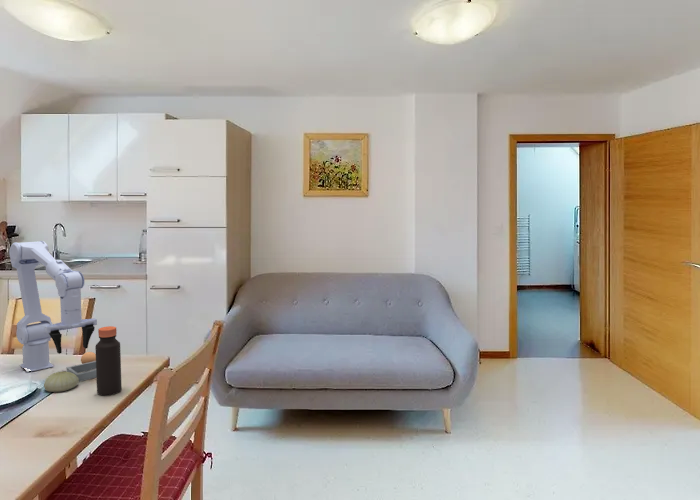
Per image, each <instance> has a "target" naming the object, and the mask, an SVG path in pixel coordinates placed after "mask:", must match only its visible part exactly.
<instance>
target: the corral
mask: <svg viewBox="0 0 700 500" xmlns="http://www.w3.org/2000/svg"><path fill="white" fill-rule="evenodd" d="M65 369H66V370H65V371H67V372H71V373H73V374H75V375H76V376H77V377H78V379H79V382H78V383H80V382H84V381H87V380H92V379H95V378H96V379H97V377H96V361H93V362H89V363H84V364H82V363H81V364H76V365H71V366H67V367H66V368H65Z"/></svg>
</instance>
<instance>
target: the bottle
mask: <svg viewBox="0 0 700 500" xmlns="http://www.w3.org/2000/svg"><path fill="white" fill-rule="evenodd" d="M97 331H98V338H99V341H98V342H97V343H96V344H95V349H94V350H95V354H96V369H95V370H96V393H97V394H98V395H99V396H104V397H105V396H111V395H115V394H118V393H120V392H121V391H122V388H123V387H122V365H121V364H122V359H121V358H122V357H121V355H122V354H121V342H120V341H119V340H117V339H116V337H117V327H116V326H112V325H111V326H109V325H108V326H102V327H100V328H98V330H97Z"/></svg>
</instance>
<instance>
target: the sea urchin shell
mask: <svg viewBox="0 0 700 500" xmlns="http://www.w3.org/2000/svg"><path fill="white" fill-rule="evenodd" d="M79 383H80V382H79V379H78V377H77V376H76V375H75V374H73V373H71V372H67V370H65V371H57V372H54V373H51V374H50V375H49V376H47V377H46V379H45V380H44V383H43V387H44V390H45V391H47V392H49V393H50V392H52V393H59V392H60V393H61V392H66V391H69V390H71V389H74V388H75V387H76V386H77V385H78V384H79Z"/></svg>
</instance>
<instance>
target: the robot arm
mask: <svg viewBox="0 0 700 500" xmlns="http://www.w3.org/2000/svg"><path fill="white" fill-rule="evenodd" d="M8 253H9V259H10V263H11V267H12V268H14V269H16V273H17V279H18V284H19V290H20V296H21V300H22V307H23V313H24V316H23V317H22V318H21V319H19V321H18V322H17V323H16V338H17V341H18V342H19V343H20V344H21V345H23V346H22V348H21V349H22V351H21V352H22V363H21V364H19V366H20V368H22V369H23V368H27V369H30V370H31V372H35V371H40V370H45V369H49V368H54V364H53V363H51V362H50V345H49V344H50V342H51V341H53V344H54V345H55V346H54V347H55V348H56V349H55V350H56V352H57V354H59V355H60V354H63V353H62V352H63V351H62V350H63V349H62V333H61V331H64V330H70V329H71V330H72V329H76V328H77V329H78V328H81V333H82V347H83V348H84V349H88V348H89V343H90V339H91V337H92V335H93V333H94V332H95V326H97V325H98V319H97V318H86V319H83V318H82V317H83V316H82V314H83V313H82V291H81V290H82V289H83V288H84V286H85V277H84V274H83V273H82V272H81V271H80V270H72V268H70V267H69V265H67V264H66V263H65V262H64V261H63V260H62V259H55V258H54V256H53V255H52V254H51V253H50V252H49V245H48V243H46V241H45V240H39V241H23V242H17V241H15V242H13V243H12V244H11V245H10V248H9V251H8ZM40 265H42V266H44V267H45V273H46V274H47V275H49V277H50V278H52V279H53V280H54V282H55V286H56V289H57V295H58V296H59V300H60V322H57V323H54V324H53V322H52V319H51V317H50V316H48V315H47V314H44V313H43V311H42V305H41V300H40V295H39V289H38V283H37V276H36V272H35V269H36V268H37V266H40Z"/></svg>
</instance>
